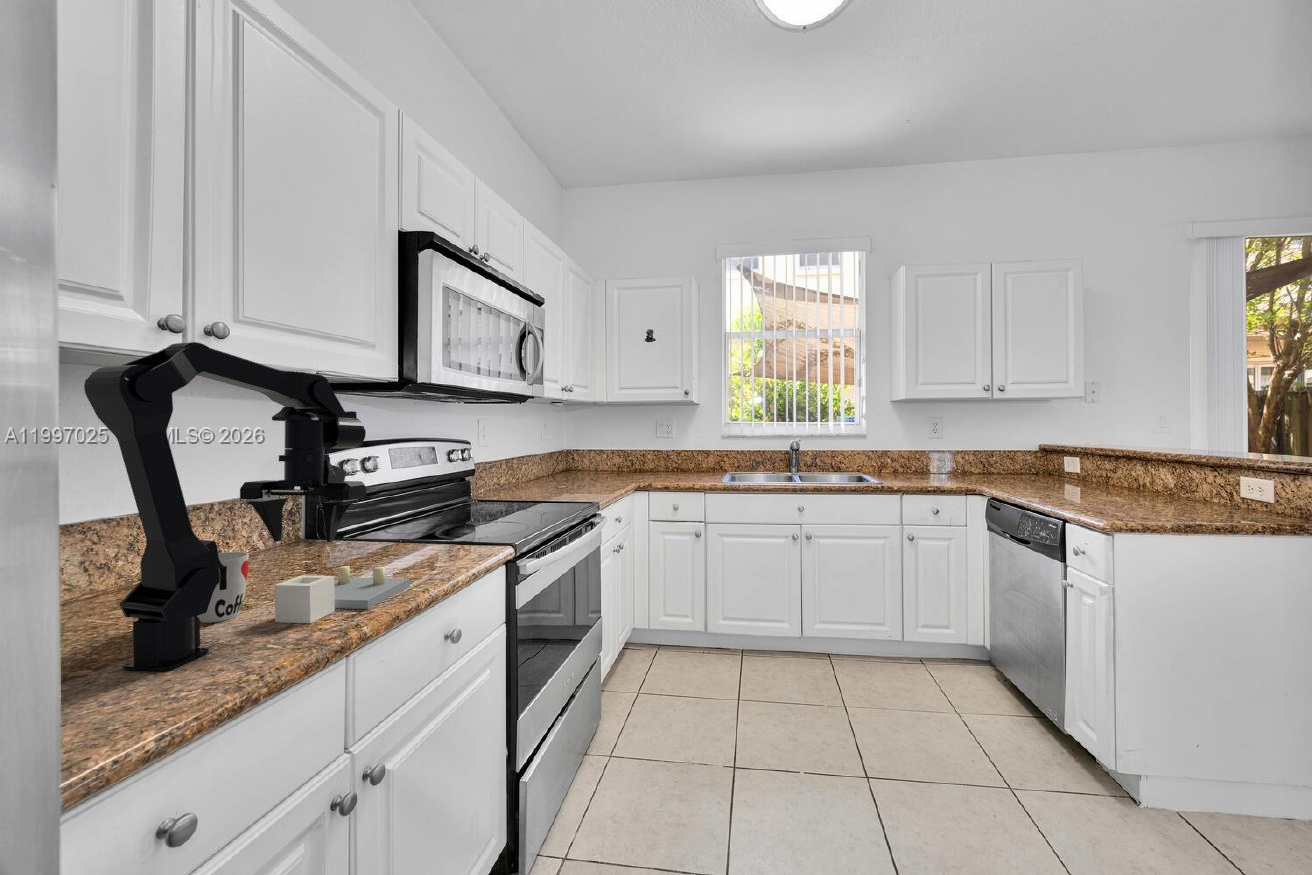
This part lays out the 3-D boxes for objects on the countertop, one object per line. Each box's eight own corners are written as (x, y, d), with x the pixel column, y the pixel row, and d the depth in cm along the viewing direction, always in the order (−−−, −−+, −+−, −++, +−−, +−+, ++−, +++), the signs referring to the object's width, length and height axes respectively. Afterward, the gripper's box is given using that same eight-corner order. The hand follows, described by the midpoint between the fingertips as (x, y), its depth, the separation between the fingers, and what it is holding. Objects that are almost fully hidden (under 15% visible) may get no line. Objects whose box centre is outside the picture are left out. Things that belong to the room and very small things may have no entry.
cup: (216, 627, 89) (215, 563, 89) (174, 624, 91) (173, 561, 91) (261, 611, 97) (260, 552, 97) (222, 608, 99) (221, 550, 99)
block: (310, 623, 91) (309, 585, 91) (275, 622, 92) (274, 585, 92) (334, 611, 97) (334, 575, 97) (301, 610, 98) (301, 575, 98)
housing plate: (368, 608, 98) (367, 582, 98) (291, 606, 100) (291, 581, 99) (410, 586, 112) (409, 563, 112) (342, 584, 113) (342, 562, 113)
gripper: (384, 448, 104) (383, 534, 104) (285, 448, 105) (284, 533, 105) (347, 449, 93) (346, 545, 93) (237, 448, 94) (236, 544, 94)
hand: (303, 541), depth 96 cm, fingers open, 9 cm apart
